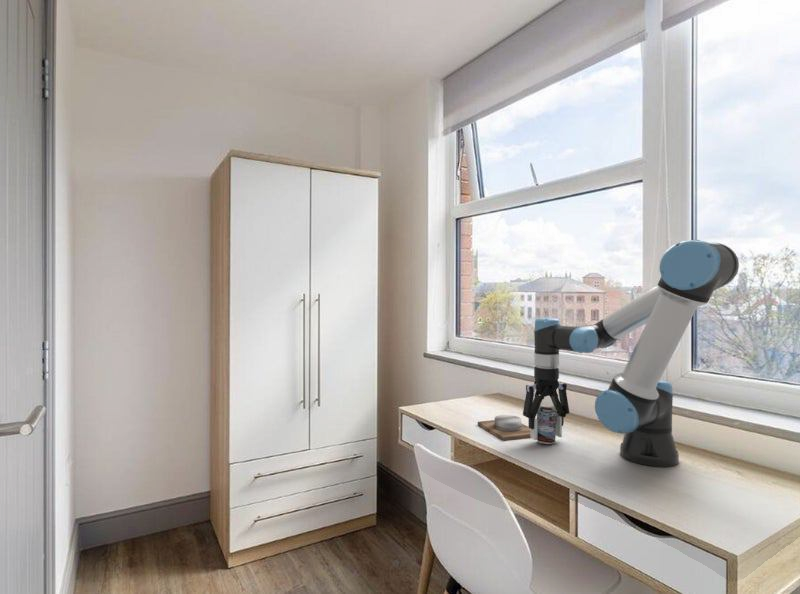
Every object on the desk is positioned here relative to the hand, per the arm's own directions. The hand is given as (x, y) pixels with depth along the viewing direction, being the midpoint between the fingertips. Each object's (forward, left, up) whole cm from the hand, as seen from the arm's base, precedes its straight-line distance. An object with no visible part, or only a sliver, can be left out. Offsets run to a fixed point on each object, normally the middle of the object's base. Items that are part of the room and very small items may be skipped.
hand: (546, 437), depth 150 cm
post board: (+15, +5, -2) cm, 16 cm away
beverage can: (0, 0, -2) cm, 2 cm away
